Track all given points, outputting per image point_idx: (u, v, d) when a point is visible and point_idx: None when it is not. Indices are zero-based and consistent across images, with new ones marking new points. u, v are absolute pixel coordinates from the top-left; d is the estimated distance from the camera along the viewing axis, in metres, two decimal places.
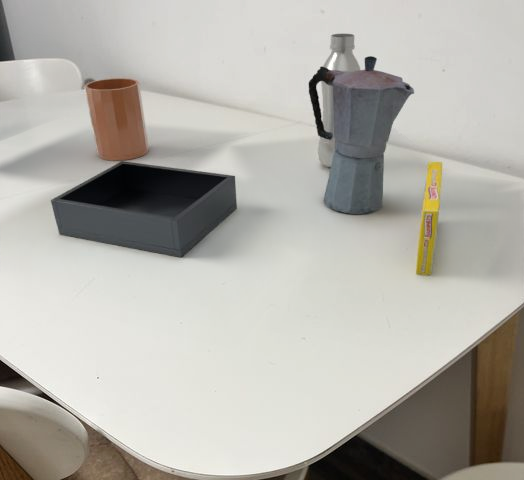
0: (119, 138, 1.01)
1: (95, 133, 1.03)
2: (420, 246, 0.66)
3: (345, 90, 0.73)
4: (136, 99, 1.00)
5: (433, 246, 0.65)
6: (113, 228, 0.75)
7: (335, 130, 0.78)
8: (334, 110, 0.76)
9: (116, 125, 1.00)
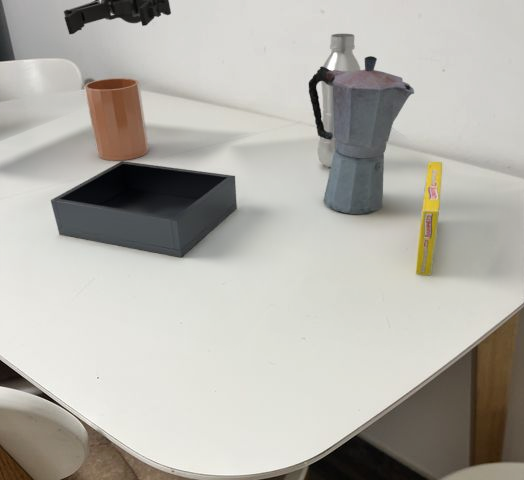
0: (119, 138, 1.01)
1: (95, 133, 1.03)
2: (420, 246, 0.66)
3: (345, 90, 0.73)
4: (136, 99, 1.00)
5: (433, 246, 0.65)
6: (113, 228, 0.75)
7: (335, 130, 0.78)
8: (334, 110, 0.76)
9: (116, 125, 1.00)
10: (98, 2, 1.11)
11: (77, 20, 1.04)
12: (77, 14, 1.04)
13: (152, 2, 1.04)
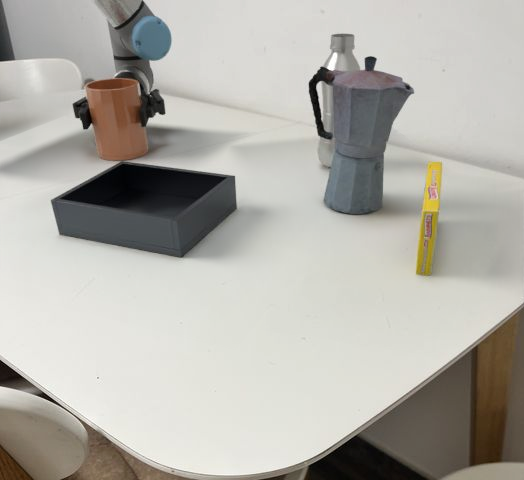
0: (119, 138, 1.01)
1: (95, 133, 1.03)
2: (420, 246, 0.66)
3: (345, 90, 0.73)
4: (136, 99, 1.00)
5: (433, 246, 0.65)
6: (113, 228, 0.75)
7: (335, 130, 0.78)
8: (334, 110, 0.76)
9: (116, 125, 1.00)
10: None
11: (89, 115, 1.03)
12: None
13: (148, 102, 1.05)
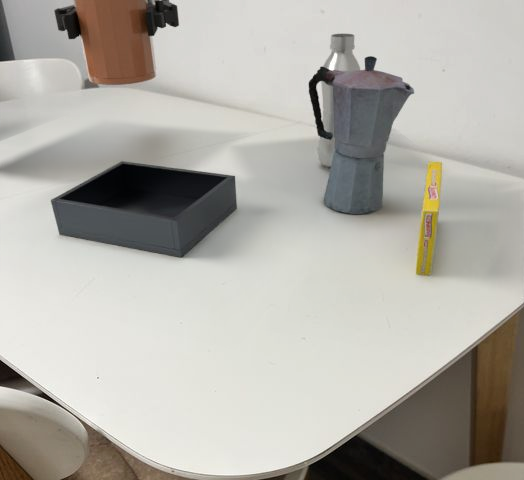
0: (118, 52, 0.75)
1: (85, 47, 0.76)
2: (420, 246, 0.66)
3: (345, 90, 0.73)
4: None
5: (433, 246, 0.65)
6: (113, 228, 0.75)
7: (335, 130, 0.78)
8: (334, 110, 0.76)
9: (114, 33, 0.73)
10: None
11: (77, 22, 0.76)
12: None
13: (156, 8, 0.78)
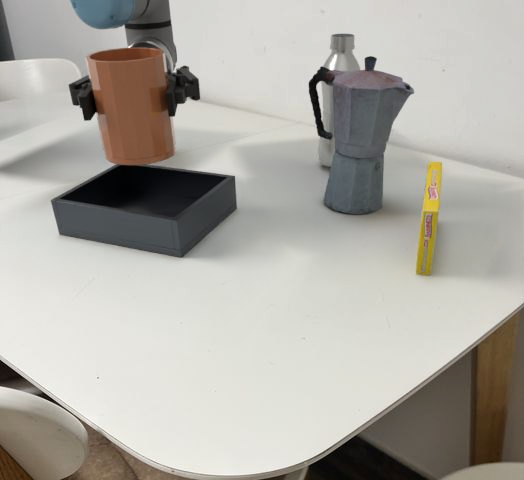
0: (136, 133, 0.70)
1: (101, 126, 0.71)
2: (420, 246, 0.66)
3: (345, 90, 0.73)
4: (161, 76, 0.69)
5: (433, 246, 0.65)
6: (113, 228, 0.75)
7: (335, 130, 0.78)
8: (334, 110, 0.76)
9: (132, 114, 0.69)
10: None
11: (93, 100, 0.71)
12: None
13: (176, 83, 0.74)
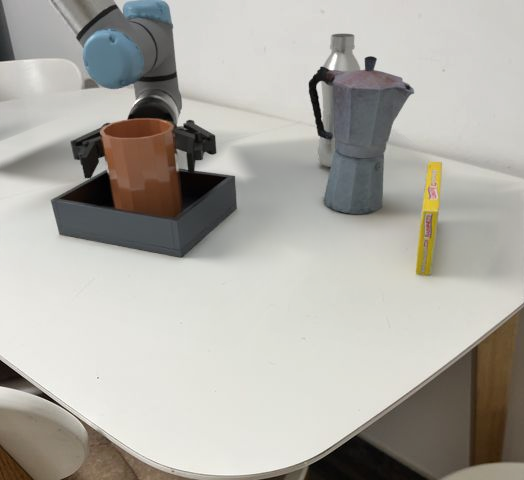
0: (147, 200, 0.75)
1: (114, 193, 0.77)
2: (420, 246, 0.66)
3: (345, 90, 0.73)
4: (170, 149, 0.74)
5: (433, 246, 0.65)
6: (113, 228, 0.75)
7: (335, 130, 0.78)
8: (334, 110, 0.76)
9: (143, 184, 0.74)
10: None
11: (93, 158, 0.77)
12: (93, 150, 0.77)
13: (195, 139, 0.79)
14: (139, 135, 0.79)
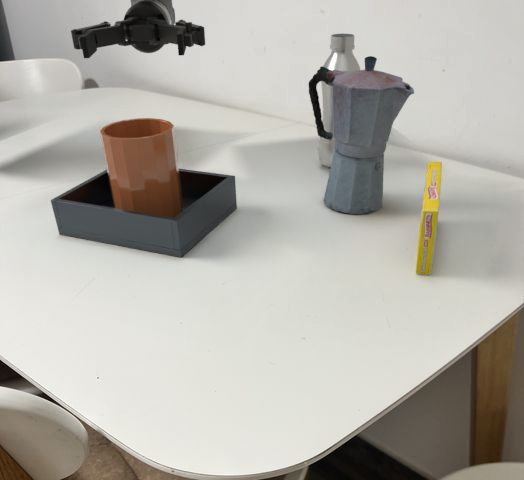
0: (147, 200, 0.75)
1: (114, 193, 0.77)
2: (420, 246, 0.66)
3: (345, 90, 0.73)
4: (170, 149, 0.74)
5: (433, 246, 0.65)
6: (113, 228, 0.75)
7: (335, 130, 0.78)
8: (334, 110, 0.76)
9: (143, 184, 0.74)
10: (109, 24, 0.92)
11: (91, 42, 0.84)
12: (91, 35, 0.84)
13: (185, 29, 0.86)
14: (139, 135, 0.79)
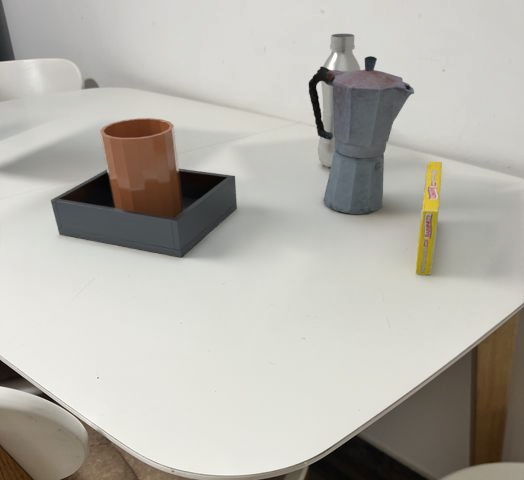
0: (147, 200, 0.75)
1: (114, 193, 0.77)
2: (420, 246, 0.66)
3: (345, 90, 0.73)
4: (170, 149, 0.74)
5: (433, 246, 0.65)
6: (113, 228, 0.75)
7: (335, 130, 0.78)
8: (334, 110, 0.76)
9: (143, 184, 0.74)
10: None
11: None
12: None
13: None
14: (139, 135, 0.79)
